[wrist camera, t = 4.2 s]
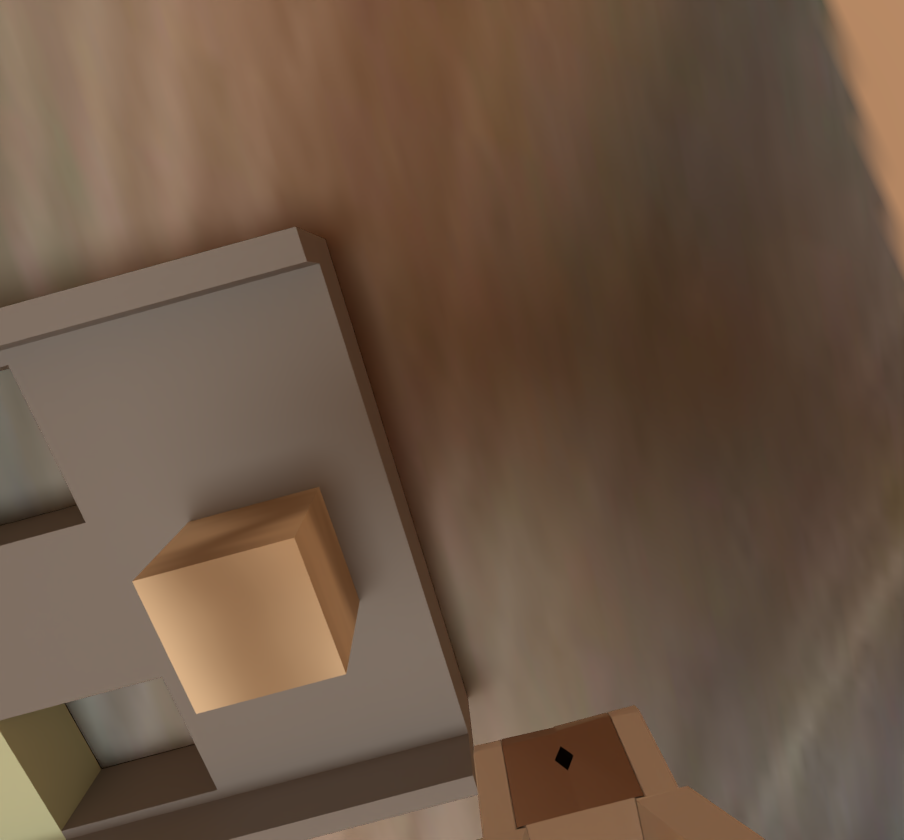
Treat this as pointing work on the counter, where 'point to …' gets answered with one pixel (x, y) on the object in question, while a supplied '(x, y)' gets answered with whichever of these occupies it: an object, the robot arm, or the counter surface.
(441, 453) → the counter surface
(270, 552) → the birch block
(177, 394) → the trap board
